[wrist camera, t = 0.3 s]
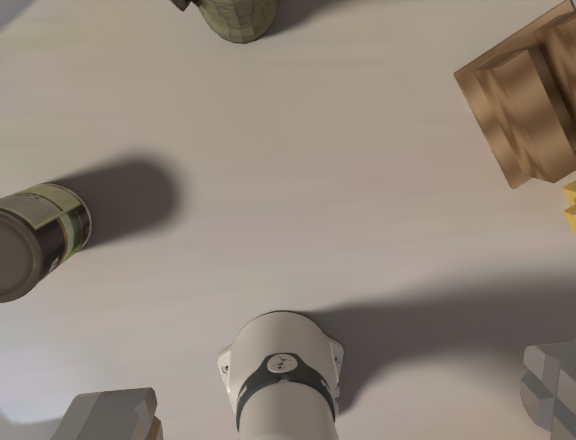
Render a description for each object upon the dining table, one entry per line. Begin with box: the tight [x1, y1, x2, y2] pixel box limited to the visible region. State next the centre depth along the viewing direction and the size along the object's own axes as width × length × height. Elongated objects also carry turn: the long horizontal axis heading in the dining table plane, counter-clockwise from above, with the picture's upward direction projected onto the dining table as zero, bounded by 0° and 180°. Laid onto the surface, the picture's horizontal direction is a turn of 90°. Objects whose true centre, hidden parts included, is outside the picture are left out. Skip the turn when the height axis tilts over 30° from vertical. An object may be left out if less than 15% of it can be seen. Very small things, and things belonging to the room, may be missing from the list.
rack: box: [454, 0, 576, 189], centre depth 53 cm, size 18×16×7 cm
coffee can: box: [0, 183, 92, 303], centre depth 50 cm, size 10×10×14 cm
